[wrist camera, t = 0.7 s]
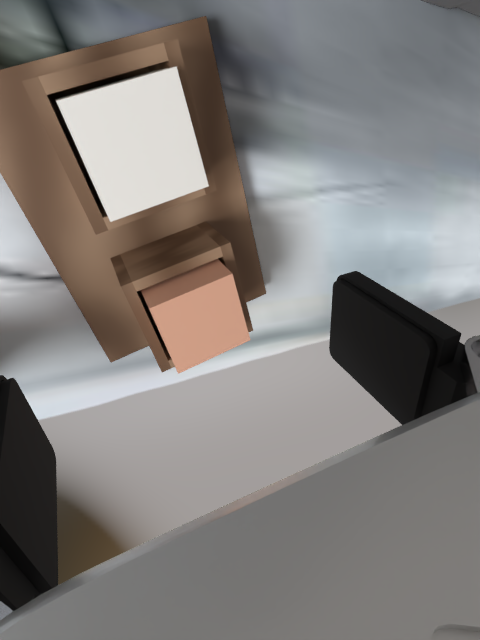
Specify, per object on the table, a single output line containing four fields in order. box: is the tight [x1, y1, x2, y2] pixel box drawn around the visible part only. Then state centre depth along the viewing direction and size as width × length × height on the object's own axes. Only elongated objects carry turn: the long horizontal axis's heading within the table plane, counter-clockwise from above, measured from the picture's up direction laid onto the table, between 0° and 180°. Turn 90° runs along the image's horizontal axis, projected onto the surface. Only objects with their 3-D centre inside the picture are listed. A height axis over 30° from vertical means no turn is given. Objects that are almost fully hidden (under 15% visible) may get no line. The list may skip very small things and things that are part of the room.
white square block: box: [55, 66, 209, 222], centre depth 22 cm, size 6×6×5 cm
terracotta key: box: [141, 259, 250, 374], centre depth 29 cm, size 6×6×5 cm
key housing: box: [0, 16, 266, 372], centre depth 28 cm, size 16×22×7 cm
